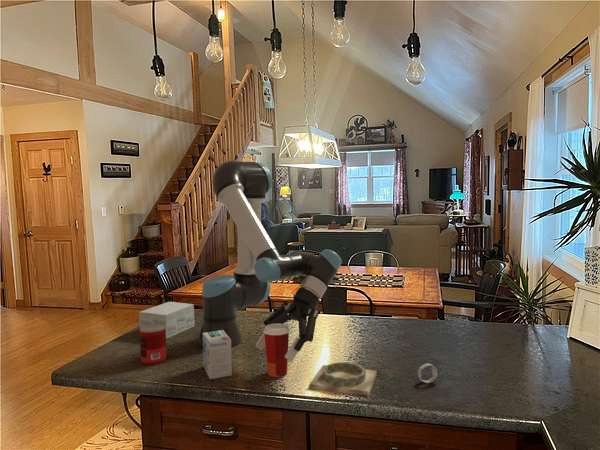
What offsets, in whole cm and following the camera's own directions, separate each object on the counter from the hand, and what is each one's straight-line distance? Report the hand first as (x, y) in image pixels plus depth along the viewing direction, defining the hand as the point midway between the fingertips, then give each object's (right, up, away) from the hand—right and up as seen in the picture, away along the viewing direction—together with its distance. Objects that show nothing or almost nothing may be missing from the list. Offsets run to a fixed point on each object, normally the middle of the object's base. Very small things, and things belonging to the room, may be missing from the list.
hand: (272, 353), depth 127 cm
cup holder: (+20, -6, -4) cm, 22 cm away
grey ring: (+43, -6, -6) cm, 44 cm away
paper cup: (+1, -7, +2) cm, 7 cm away
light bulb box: (-17, -7, +5) cm, 19 cm away
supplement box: (-44, -5, +46) cm, 64 cm away
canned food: (-39, -6, +14) cm, 42 cm away
